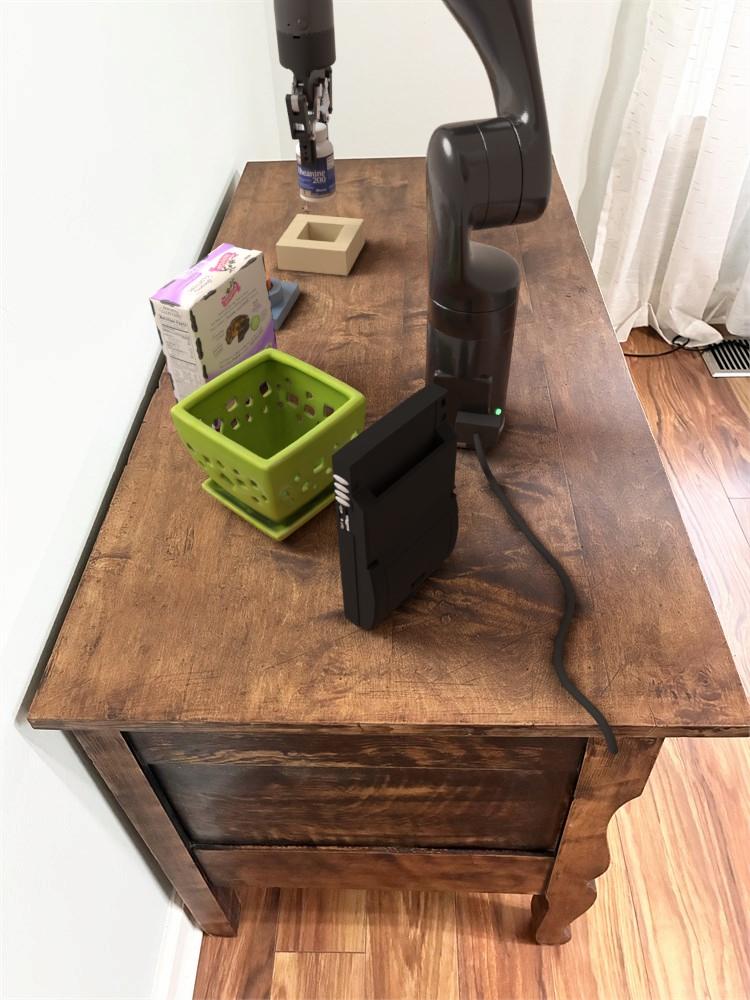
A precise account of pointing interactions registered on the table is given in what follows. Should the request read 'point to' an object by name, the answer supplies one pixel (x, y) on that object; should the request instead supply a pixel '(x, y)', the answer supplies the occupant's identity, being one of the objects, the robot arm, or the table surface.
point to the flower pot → (270, 438)
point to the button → (268, 281)
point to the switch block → (282, 299)
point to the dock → (321, 244)
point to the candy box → (214, 318)
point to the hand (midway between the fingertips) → (315, 158)
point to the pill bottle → (318, 170)
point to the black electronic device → (395, 505)
